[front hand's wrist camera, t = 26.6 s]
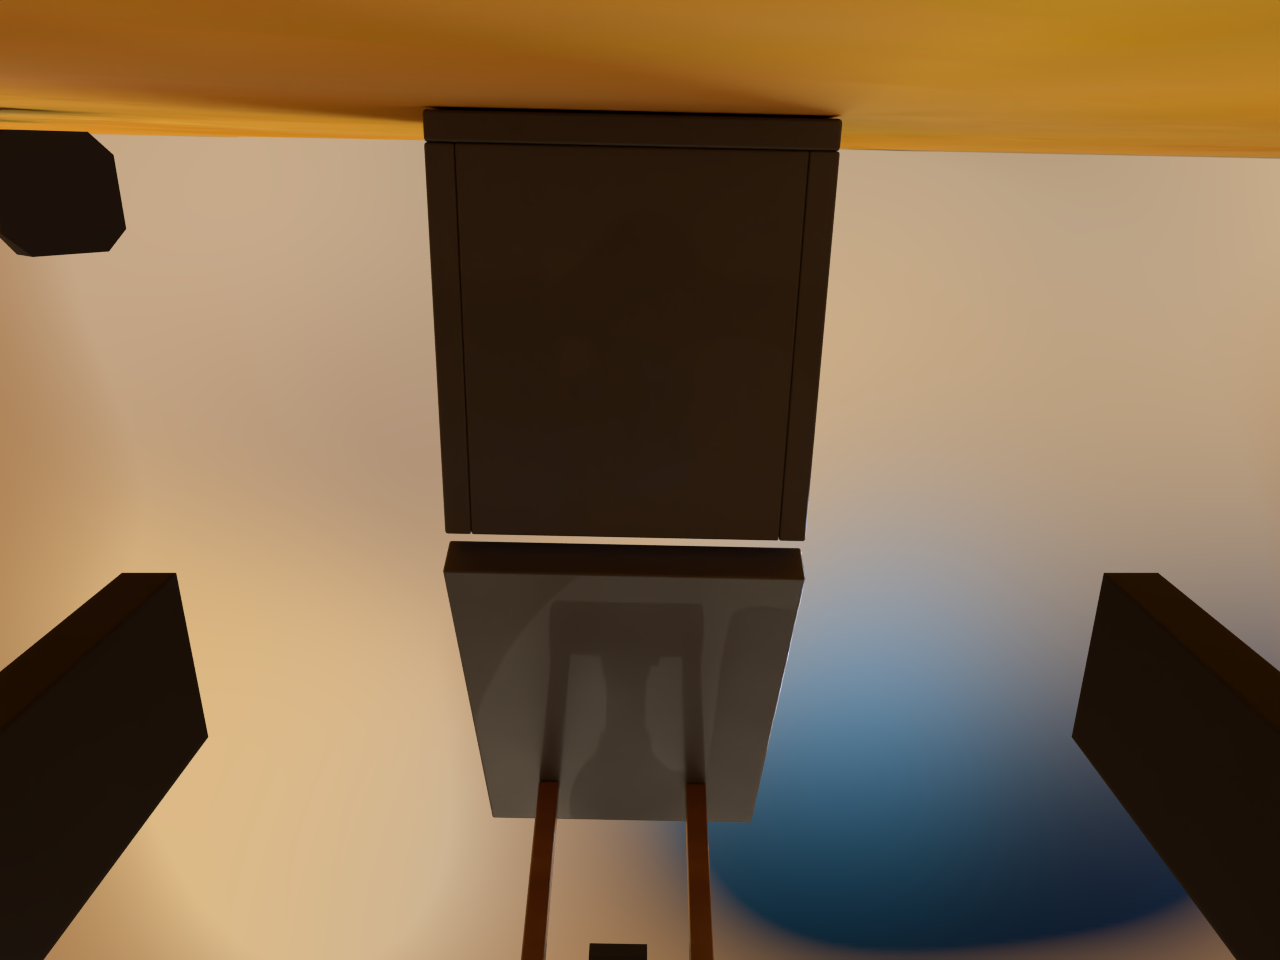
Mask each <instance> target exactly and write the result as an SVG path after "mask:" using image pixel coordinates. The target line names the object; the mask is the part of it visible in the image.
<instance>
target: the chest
mask: <svg viewBox="0 0 1280 960" xmlns="http://www.w3.org/2000/svg"><path fill="white" fill-rule="evenodd" d="M423 128H424V139H425V141H427V142H426V143H425V145H424V149H425V167H426V186H427V204H428V222H429V240H430V259H431V278H432V296H433V314H434V332H435V351H436V369H437V388H438V406H439V424H440V443H441V461H442V479H443V497H444V516H445V531H446V533H454V534H470V533H471V532H472V533H473V534H497V535H544V536H592V537H640V538H687V539H736V540H778V539H779V540H781V541H804V540H805V534H806V523H807V512H808V501H809V490H810V478H811V467H812V456H813V445H814V434H815V423H816V412H817V400H818V389H819V378H820V367H821V356H822V345H823V334H824V322H825V311H826V300H827V289H828V277H829V267H830V255H831V244H832V233H833V222H834V211H835V200H836V188H837V177H838V166H839V152H837V151H838V150H839V148H840V141H841V130H842V121H841V120H840V119H826V118H782V117H739V116H696V115H652V114H609V113H566V112H522V111H479V110H436V109H426V110H424V111H423Z"/></svg>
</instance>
